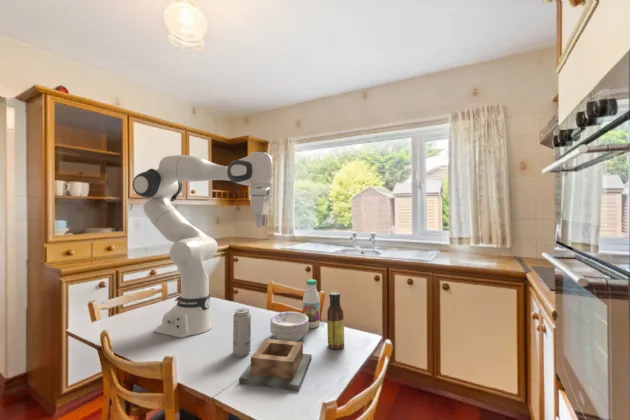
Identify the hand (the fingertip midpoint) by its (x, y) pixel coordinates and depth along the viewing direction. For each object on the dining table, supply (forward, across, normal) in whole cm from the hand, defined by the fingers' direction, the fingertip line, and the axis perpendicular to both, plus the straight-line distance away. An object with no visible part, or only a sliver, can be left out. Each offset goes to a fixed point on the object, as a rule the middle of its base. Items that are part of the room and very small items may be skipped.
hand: (260, 226), depth 115 cm
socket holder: (+44, +24, +10) cm, 51 cm away
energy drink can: (+44, +12, -4) cm, 46 cm away
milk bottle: (+44, -13, +21) cm, 51 cm away
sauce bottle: (+44, +8, +30) cm, 54 cm away
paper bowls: (+44, 0, +12) cm, 46 cm away
